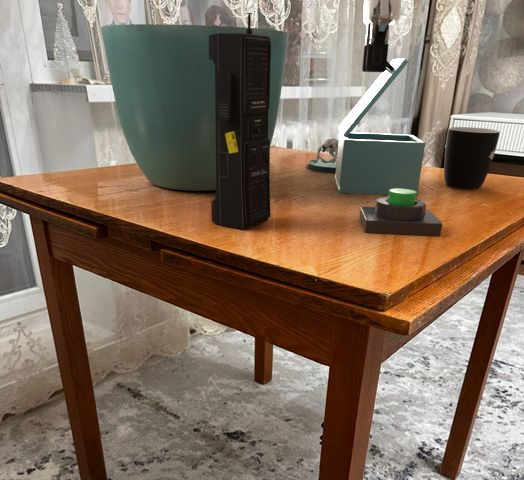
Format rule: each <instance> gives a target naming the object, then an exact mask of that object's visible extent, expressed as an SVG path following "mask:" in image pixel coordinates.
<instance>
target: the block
mask: <svg viewBox="0 0 524 480" xmlns="http://www.w3.org/2000/svg"><path fill="white" fill-rule="evenodd" d="M388 198H389V196H381V197H379V198H377V199H376V202H375V203H376V204H375V206H360V207H359V215H358V218H359V221H360V223H361V225H362V228H363V231H364V233H366V234H381V235H382V234H383V235H385V234H386V235H402V236H404V235H405V236H406V235H407V236H426V237H440V236H441V233H442V229H443V223H442V222H441V221H440V219H438V217H437V216H436V215H435V214H434V213H433V212H432V211H431V210H430V209H427V202H425V201H424V200H421V199H417V198H416V199H415V205H397V204H392V203H389V202H388Z"/></svg>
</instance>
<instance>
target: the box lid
mask: <svg viewBox="0 0 524 480" xmlns="http://www.w3.org/2000/svg"><path fill="white" fill-rule="evenodd" d="M408 64H409V61H408V59H406V58H393V59H392V60H391V61H390V62H389V61H388V60H387V65H386V71H385V72H381V74H380V75H379V76H378V77H377V79H376V80H375V81H374V83H373V84H372V85H371V86H370V88H369V89H368V90H367V91H366V92H365V94H364V95H363V96H362V97H361V98H360V100H359V101H358V102H357V103H356V105H355V106H354V107H353V108H352V110H351V111H350V112H349V113H348V115H347V116H346V117H345V118H344V119H343V121H342V122H341V123H340V125H339V126H338V127H337V128H338V130H339V132H341V133H342V135H343V136H344V137H345V138H347V136H348V135H349V134H350V133H351V132H352V131H354V129H355V128H356V127H357V125H358V124H359V123H360V122H361V121H362V120H363V119H364V117H365V116H366V115H367V113H368V112H369V111H370V110H371V109H372V107H374V105H375V104H376V102H377V101H378V100H380V97H381V96H383V94H384V93H385V92H386V90H387V89H388V88H389V87H390V86H391V84H392V83H393V82H394V81H395V79H396V78H397V77H398V76H399V75H400V73H402V71H403V70H404V68H405V67H406V66H408Z"/></svg>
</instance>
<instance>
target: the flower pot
mask: <svg viewBox="0 0 524 480" xmlns="http://www.w3.org/2000/svg"><path fill="white" fill-rule="evenodd" d="M246 29H248V27H245V26H228V25H211V24H208V25H207V24H205V25H204V24H169V23H168V24H161V23H160V24H159V23H158V24H157V23H155V24H154V23H153V24H152V23H149V24H148V23H145V24H144V23H142V24H141V23H139V24H138V23H137V24H136V23H135V24H111V25H103V26H101V27H100V32H101V36H102V41H103V45H104V50H105V55H106V61H107V66H108V71H109V76H110V83H111V89H112V92H113V97H114V103H115V107H116V111H117V115H118V119H119V123H120V126H121V129H122V132H123V136H124V138H125V141H126V144H127V147H128V149H129V151H130V153H131V155H132V157H133V159H134V160H135V162H136V164H137V166H138V168H139V169H140V171H141V172H142V174H143V176H144V177H146V179H147V180H148V181H149V182H150V183H151V185H154V186H157V187H160V188H164V189H170V190H178V191H191V192H192V191H193V192H200V191H201V192H205V191H206V192H207V191H209V192H210V191H211V192H212V191H213V192H214V191H216V117H215V64H214V62H213V60H210V59H209V35H212V34H217V33H245V34H246ZM250 29H252V34H253V35H262V36H268V37H270V42H271V68H270V105H269V110H268V139H269V140H270V146H271V145H272V141H273V139H274V138H273V137H274V133H275V130H276V125H277V120H278V117H279V116H278V115H279V111H280V110H279V109H280V103H281V95H282V88H283V83H284V82H283V81H284V75H285V73H284V72H285V64H286V58H287V51H288V50H287V49H288V44H289V36H290V35H289V34H290V33H289V32H288V31H284V30H279V29H278V30H277V29H270V28H259V27H250Z"/></svg>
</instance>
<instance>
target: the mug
mask: <svg viewBox="0 0 524 480" xmlns="http://www.w3.org/2000/svg"><path fill="white" fill-rule="evenodd" d="M499 137H500V130H498V129H491V128H484V127H474V126H473V127H471V126H470V127H469V126H452V127H449V128H448V130H447V135H446V141H445V148H444V149H445V150H444V160H443V161H444V162H443V179H444V183H445V186H447V187H449V188H454V189H459V190H478V189H480V188H481V187H482V185H483V184H484V182H485V181H486V178H487V176H488V174H489V171H490V168H491V166H492V163H493V159H494V157H495V154H496V153H495V152H496V150H497V146H498V142H499Z"/></svg>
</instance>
